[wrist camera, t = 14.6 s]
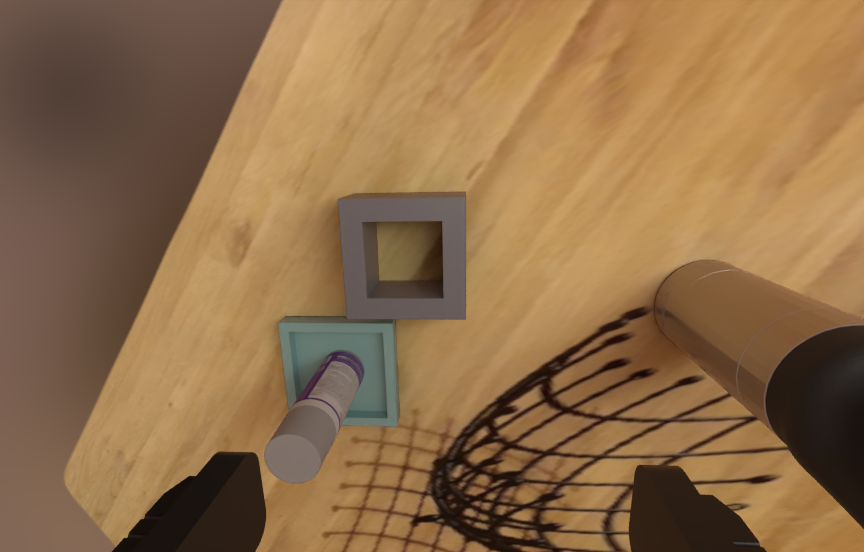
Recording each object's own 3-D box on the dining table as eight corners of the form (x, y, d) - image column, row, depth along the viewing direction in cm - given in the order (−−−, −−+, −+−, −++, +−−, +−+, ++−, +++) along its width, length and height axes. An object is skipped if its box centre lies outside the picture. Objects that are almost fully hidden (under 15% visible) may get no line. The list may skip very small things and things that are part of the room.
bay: (465, 191, 43) (465, 197, 37) (465, 299, 46) (465, 319, 40) (354, 193, 44) (337, 199, 38) (361, 298, 47) (347, 318, 41)
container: (331, 392, 49) (276, 490, 35) (316, 355, 48) (253, 440, 34) (370, 382, 49) (330, 478, 34) (356, 344, 48) (308, 426, 33)
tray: (395, 316, 47) (392, 323, 45) (399, 416, 50) (397, 426, 48) (285, 316, 48) (278, 322, 46) (296, 414, 51) (290, 424, 49)
